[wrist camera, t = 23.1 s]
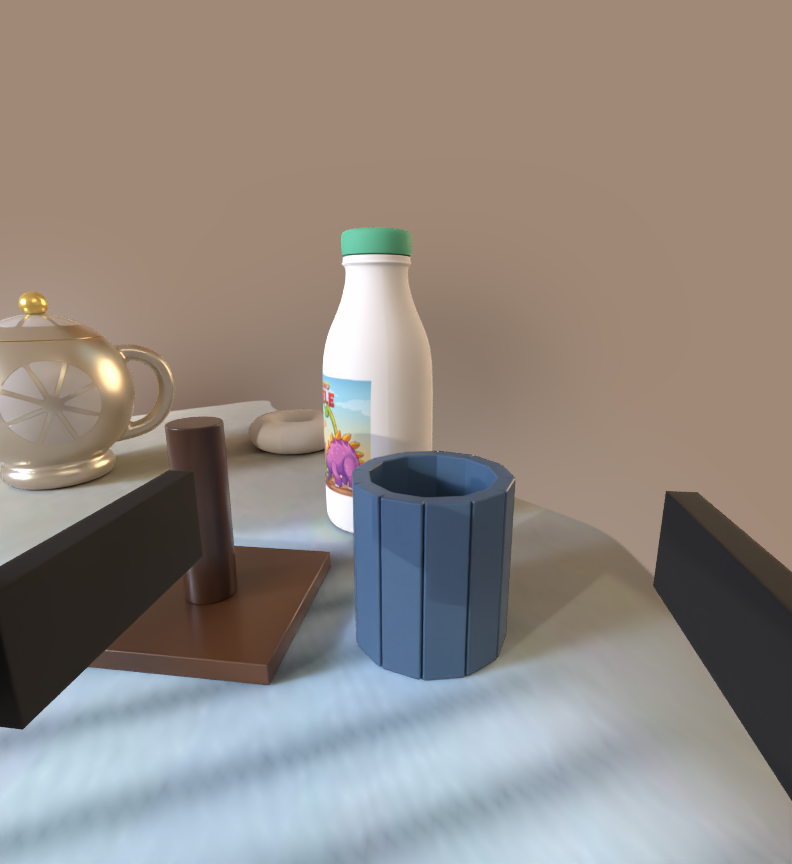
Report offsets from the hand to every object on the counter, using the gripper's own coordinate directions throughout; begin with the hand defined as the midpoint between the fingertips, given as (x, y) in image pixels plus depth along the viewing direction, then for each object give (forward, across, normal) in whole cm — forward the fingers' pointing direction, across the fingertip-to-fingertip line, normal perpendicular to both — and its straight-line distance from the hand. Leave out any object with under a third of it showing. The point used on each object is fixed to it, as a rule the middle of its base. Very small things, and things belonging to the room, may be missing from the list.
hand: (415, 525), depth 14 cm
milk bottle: (+22, -5, -10) cm, 24 cm away
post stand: (+9, -12, -10) cm, 17 cm away
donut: (+40, -17, -10) cm, 44 cm away
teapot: (+28, -34, -10) cm, 45 cm away
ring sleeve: (+9, 0, -10) cm, 13 cm away
